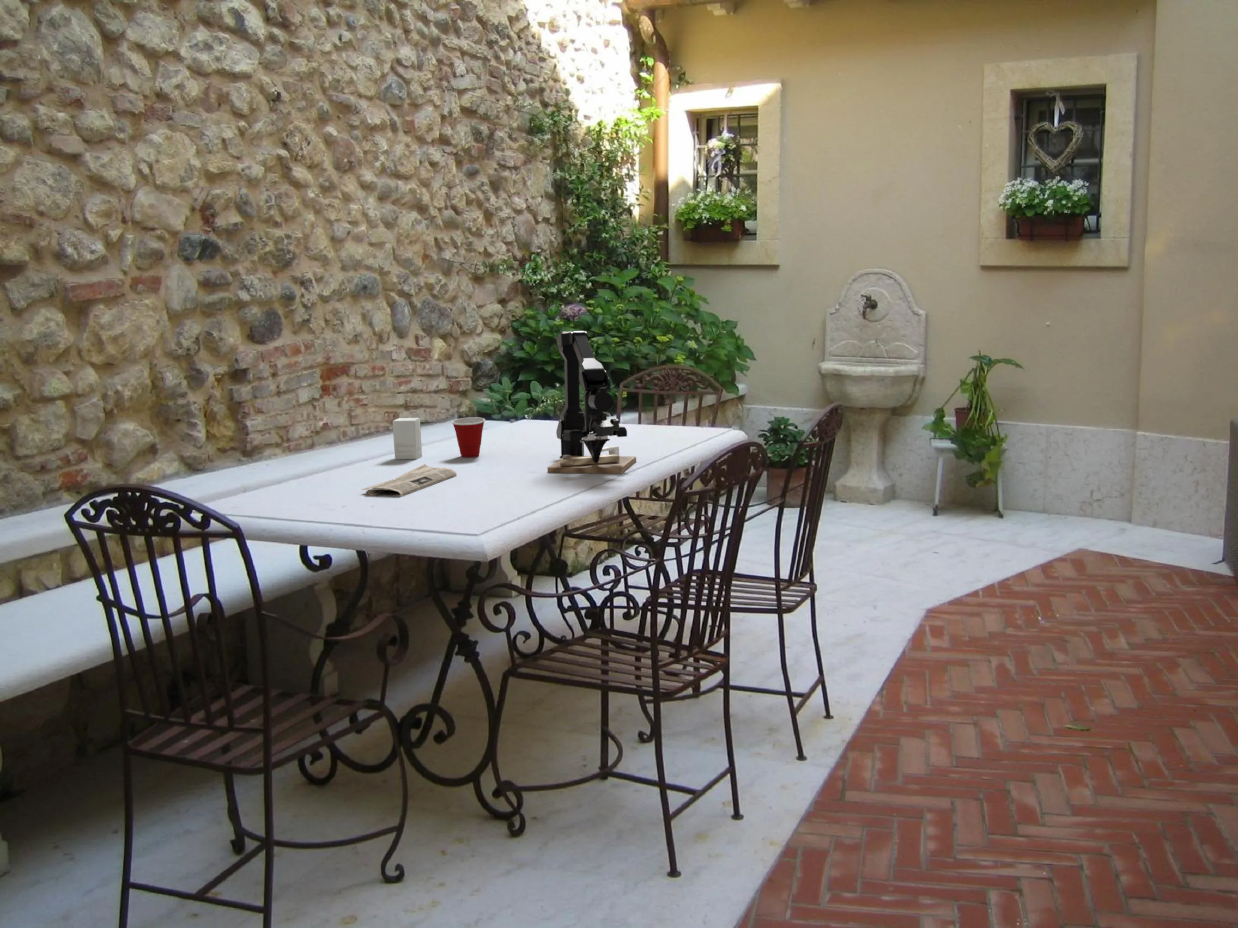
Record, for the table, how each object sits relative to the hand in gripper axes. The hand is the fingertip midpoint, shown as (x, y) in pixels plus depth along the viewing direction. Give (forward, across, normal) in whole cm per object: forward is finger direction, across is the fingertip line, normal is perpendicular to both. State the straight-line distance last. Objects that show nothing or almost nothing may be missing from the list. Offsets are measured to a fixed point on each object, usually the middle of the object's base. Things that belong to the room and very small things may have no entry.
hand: (596, 462), depth 347 cm
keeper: (0, +9, +9) cm, 13 cm away
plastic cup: (0, -21, +49) cm, 53 cm away
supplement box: (0, -39, +57) cm, 69 cm away
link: (0, -1, +3) cm, 3 cm away
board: (+2, +2, +6) cm, 7 cm away
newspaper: (+3, -54, +7) cm, 55 cm away
